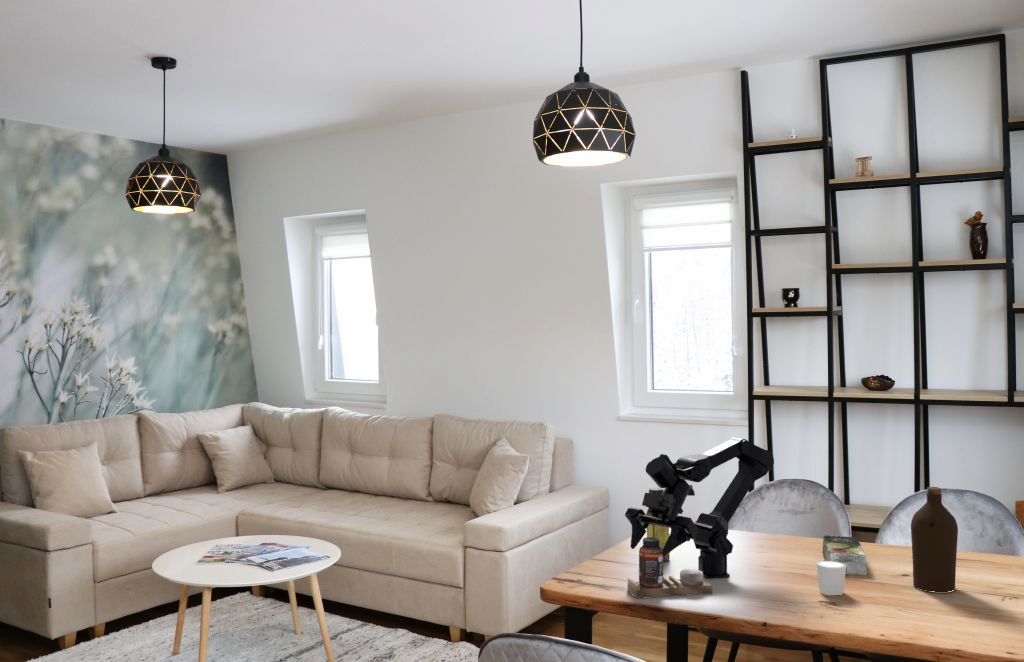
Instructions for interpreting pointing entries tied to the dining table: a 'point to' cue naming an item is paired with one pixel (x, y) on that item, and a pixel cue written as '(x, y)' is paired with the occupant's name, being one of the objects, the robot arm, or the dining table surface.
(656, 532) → the sauce bottle
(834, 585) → the white cup
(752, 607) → the dining table surface
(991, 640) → the dining table surface
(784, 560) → the dining table surface
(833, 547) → the juice carton
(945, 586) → the olive oil
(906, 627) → the dining table surface
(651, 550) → the supplement bottle
